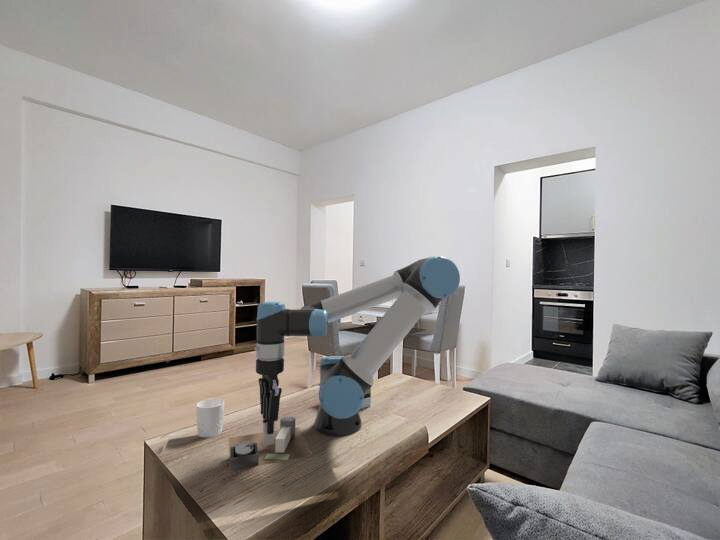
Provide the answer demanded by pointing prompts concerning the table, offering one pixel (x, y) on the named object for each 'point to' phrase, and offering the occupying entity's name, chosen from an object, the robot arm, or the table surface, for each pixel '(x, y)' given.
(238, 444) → the button
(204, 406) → the white cup
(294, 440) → the board
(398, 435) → the table surface
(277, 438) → the peg lever
